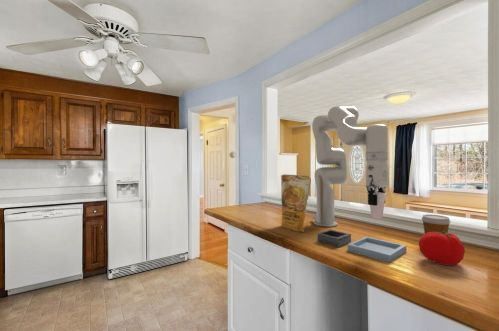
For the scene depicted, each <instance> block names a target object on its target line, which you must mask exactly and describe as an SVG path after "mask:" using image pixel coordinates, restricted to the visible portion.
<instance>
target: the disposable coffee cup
mask: <svg viewBox="0 0 499 331" xmlns="http://www.w3.org/2000/svg"><path fill="white" fill-rule="evenodd" d="M421 221H422V226H423V231H424V232H423V234H425V233H428V232H431V231H432V232H440V233H442V232H443V231H445V233H449V228H450V224H451V222H452V221H451V220H450V217H448V216H445V215H444V216H443V215H438V214H423V215H422V217H421Z"/></svg>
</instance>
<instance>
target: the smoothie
mask: <svg viewBox="0 0 499 331" xmlns="http://www.w3.org/2000/svg"><path fill="white" fill-rule="evenodd" d="M376 195H377V205H376V206H375V205H369V209H370V216H371V219H373V220H382V219H383V217H384V215H383V214H384V209H385V203H386V197H387V193H386V192H385V193H380V192H376ZM384 202H385V203H384Z"/></svg>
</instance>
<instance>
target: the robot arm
mask: <svg viewBox="0 0 499 331" xmlns="http://www.w3.org/2000/svg"><path fill="white" fill-rule="evenodd" d="M358 119H359V110H358V109H357V108H356V107H355V106H352V105H351V106H347V105H346V106H344V105H336V106H333V107H331V108H330V109H329V110H328V111H327V114H320V115H317V116H315V117H314V118H313V121H312V124H311V125H312V126H311V128H312V134H313V136H314V141H315V154H316V156H315V157H316V162H317V163H318V164H319V165H321V166H322V167H319V168H317V169H316V170H315V171H314V181H315V187H316V188H315V190H316V195H315V196H316V214H312V215H311V219H313V224H314V225H316V226H319V227H326V228H328V227H329V228H331V227H332V228H333V227H336V226H338V221H335V191H334V189H333V188H332V186H331V185H342V184H345V183H346V182H347V181H348V180H347V179H348V164H347V155H346V152H345V151H344V149H343V148H341V147H333V145H332V138H331V136H330V135H329V134H328V133H327V132H336V134H337V135H336V136H337V138H338V139H339V140H340V141H341V143H343V144H345V145H347V146H350V147H351V146H352V147H353V146H359V147H360V146H363V147H364V146H365V162H366V166H365V188H366V191H367V192H366V193H367V204H368V205H369V206H370V205H375V206H376V205H377V195H376V192H380V193H386V192H387V190H386V188H387V187H389V185H390V178H389V174H390V173H389V165H388V161H389V160H388V158H389V157H388V156H389V155H388V154H389V151H388V148H389V146H388V144H389V141H388V140H389V138H388V137H389V134H388V133H389V132H388V127H387V125H386V124H372V125H368V126H366V127H364V126H363V127H361V126H360V127H359V126H358V127H357V123H358ZM333 165H334V166H333ZM332 166H333V167H332ZM384 204H386V201H385V202H384Z"/></svg>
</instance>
